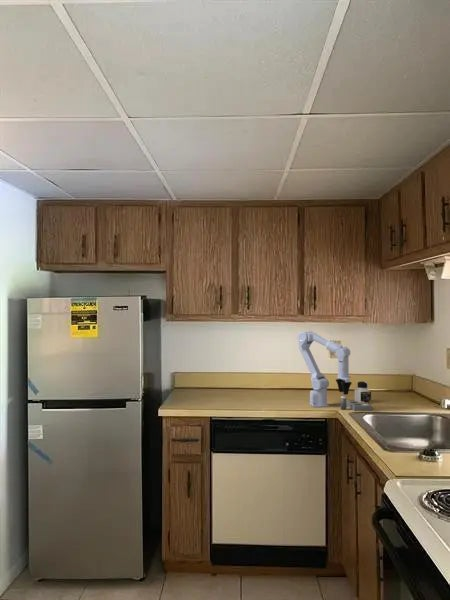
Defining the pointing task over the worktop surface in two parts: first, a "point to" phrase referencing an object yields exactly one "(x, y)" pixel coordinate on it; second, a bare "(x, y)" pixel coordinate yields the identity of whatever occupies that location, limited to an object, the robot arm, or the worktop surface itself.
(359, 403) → the socket block
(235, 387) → the worktop surface
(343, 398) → the plug
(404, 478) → the worktop surface
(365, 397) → the medicine bottle
